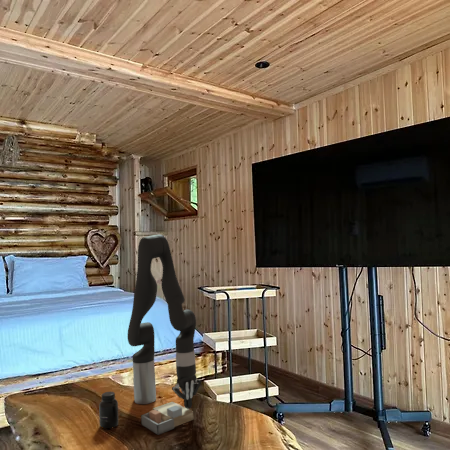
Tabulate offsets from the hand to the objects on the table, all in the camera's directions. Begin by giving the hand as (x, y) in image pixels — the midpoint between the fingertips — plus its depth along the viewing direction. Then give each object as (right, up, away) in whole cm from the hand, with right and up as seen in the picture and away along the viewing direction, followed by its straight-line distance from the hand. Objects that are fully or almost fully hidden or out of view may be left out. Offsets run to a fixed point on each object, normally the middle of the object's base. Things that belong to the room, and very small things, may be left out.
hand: (188, 407), depth 160 cm
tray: (-11, -4, -6) cm, 13 cm away
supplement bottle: (-30, -6, -3) cm, 30 cm away
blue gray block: (-5, -1, -4) cm, 6 cm away
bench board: (-6, -4, +1) cm, 7 cm away
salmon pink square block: (-11, -2, -3) cm, 12 cm away
